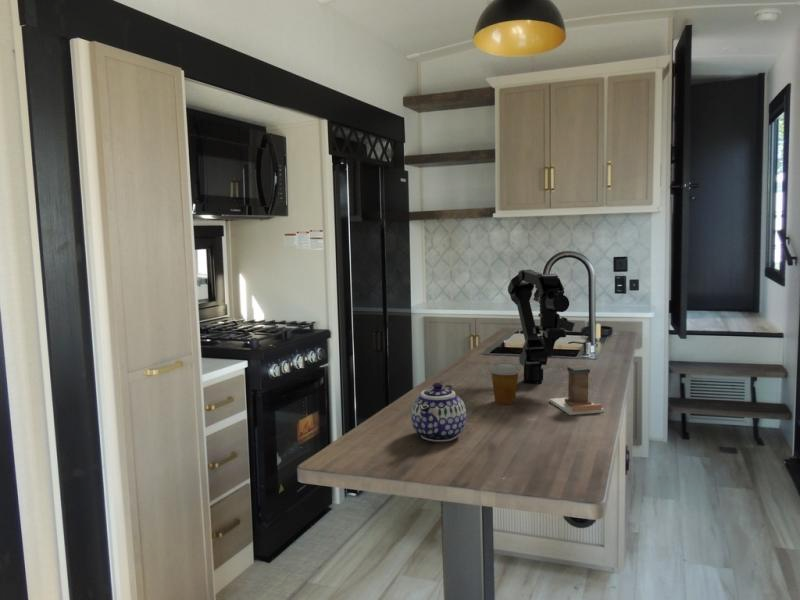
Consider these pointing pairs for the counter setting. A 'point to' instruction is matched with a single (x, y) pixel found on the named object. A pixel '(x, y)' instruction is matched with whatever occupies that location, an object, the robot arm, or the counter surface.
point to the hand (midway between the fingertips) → (549, 356)
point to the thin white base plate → (576, 407)
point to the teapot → (438, 414)
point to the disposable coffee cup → (504, 382)
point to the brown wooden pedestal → (578, 386)
